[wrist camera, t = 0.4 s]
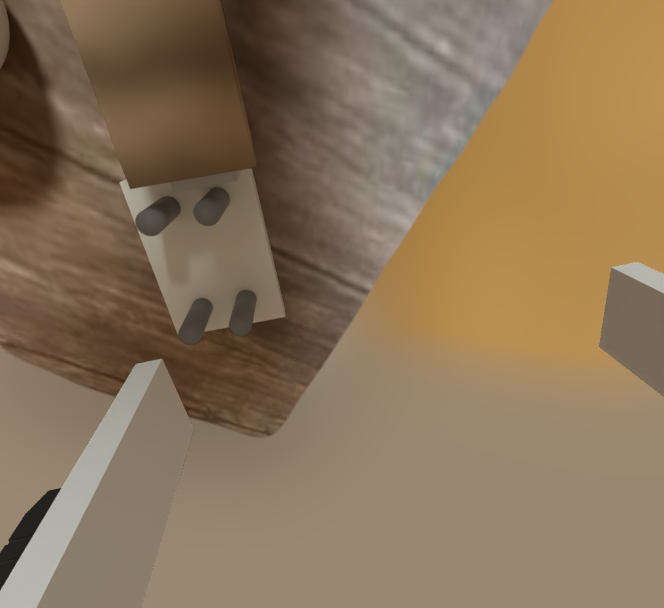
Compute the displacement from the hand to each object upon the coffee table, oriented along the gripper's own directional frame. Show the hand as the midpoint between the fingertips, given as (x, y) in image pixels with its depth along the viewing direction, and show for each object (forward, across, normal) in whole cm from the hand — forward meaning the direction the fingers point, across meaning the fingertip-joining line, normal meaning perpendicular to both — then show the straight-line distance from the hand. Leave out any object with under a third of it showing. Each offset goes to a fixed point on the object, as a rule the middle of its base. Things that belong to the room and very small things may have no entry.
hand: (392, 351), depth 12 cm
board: (+20, -8, +11) cm, 24 cm away
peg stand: (+25, -11, -3) cm, 27 cm away
